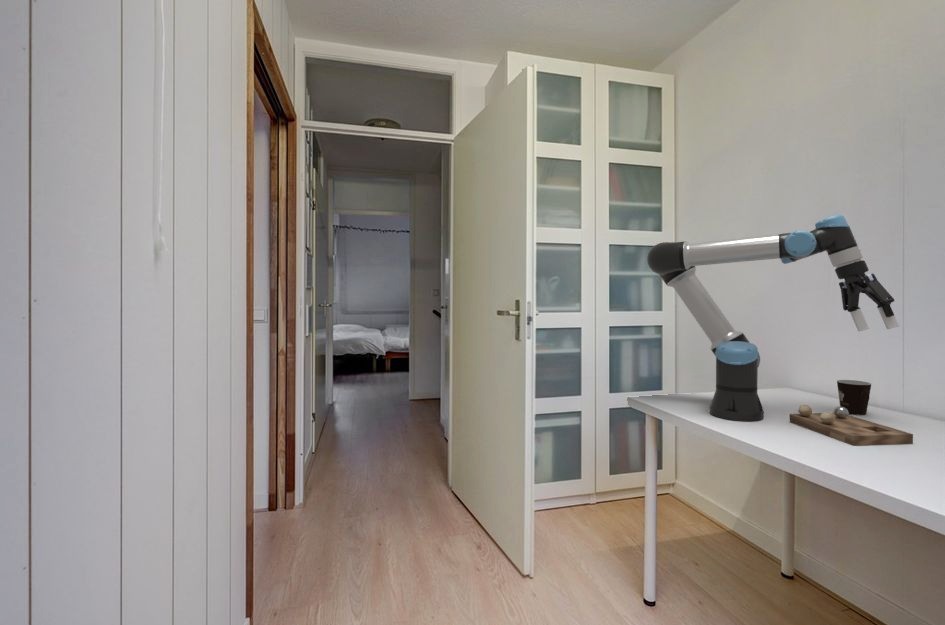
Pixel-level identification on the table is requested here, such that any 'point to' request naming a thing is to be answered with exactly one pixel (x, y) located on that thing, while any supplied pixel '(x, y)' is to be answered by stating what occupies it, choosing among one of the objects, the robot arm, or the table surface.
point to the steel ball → (841, 412)
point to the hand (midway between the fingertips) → (877, 329)
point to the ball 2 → (827, 417)
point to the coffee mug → (854, 395)
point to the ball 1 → (805, 410)
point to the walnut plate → (853, 430)
